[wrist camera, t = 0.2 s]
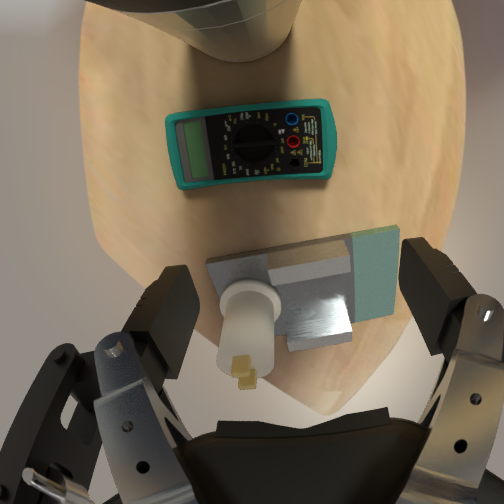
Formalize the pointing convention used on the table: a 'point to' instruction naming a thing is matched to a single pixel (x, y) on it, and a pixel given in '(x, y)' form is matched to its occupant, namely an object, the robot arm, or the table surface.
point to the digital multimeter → (252, 143)
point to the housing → (321, 283)
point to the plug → (248, 331)
